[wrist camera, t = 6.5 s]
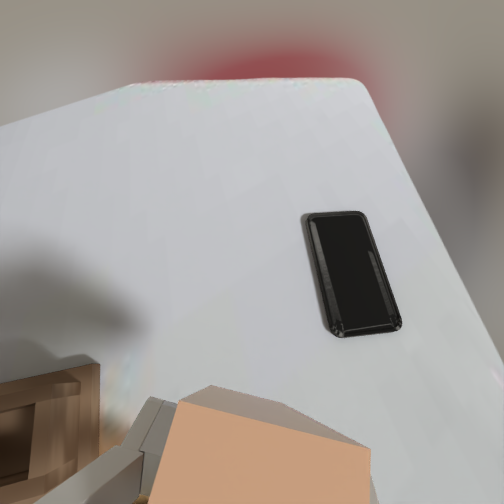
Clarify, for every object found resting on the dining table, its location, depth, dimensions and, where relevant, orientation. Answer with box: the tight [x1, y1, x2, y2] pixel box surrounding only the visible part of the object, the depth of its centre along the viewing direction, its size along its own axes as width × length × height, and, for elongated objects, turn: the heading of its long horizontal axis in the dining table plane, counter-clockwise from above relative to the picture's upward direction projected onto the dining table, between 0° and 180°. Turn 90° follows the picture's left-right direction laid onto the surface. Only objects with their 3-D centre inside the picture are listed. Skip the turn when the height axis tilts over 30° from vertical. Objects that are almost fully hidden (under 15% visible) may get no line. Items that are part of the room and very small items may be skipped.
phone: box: [306, 211, 402, 338], centre depth 31 cm, size 8×1×15 cm
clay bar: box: [148, 385, 371, 504], centre depth 9 cm, size 3×4×10 cm
